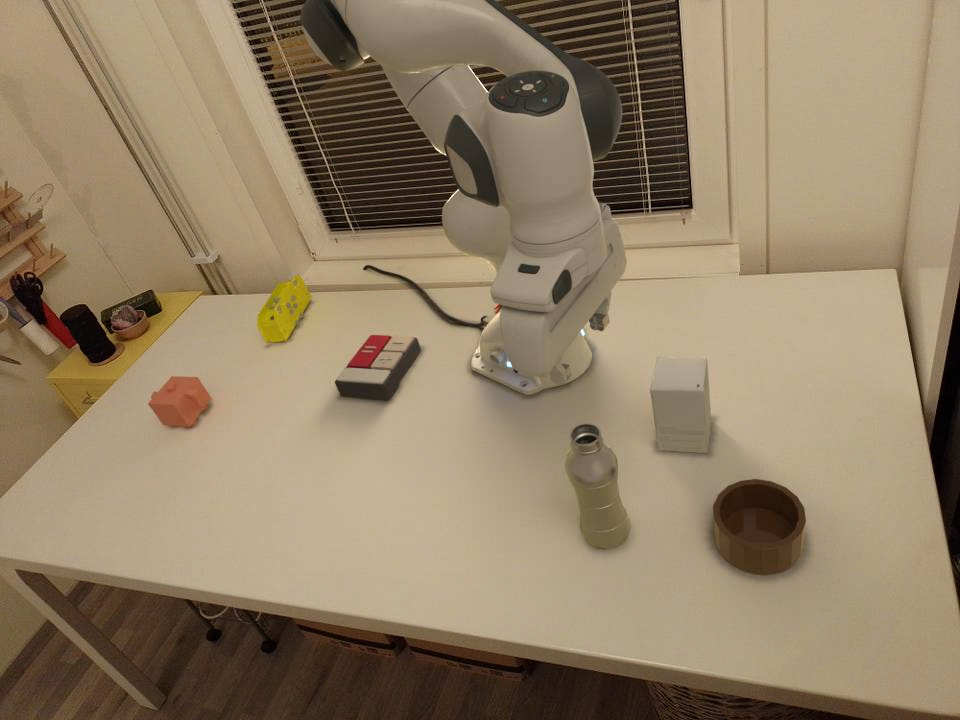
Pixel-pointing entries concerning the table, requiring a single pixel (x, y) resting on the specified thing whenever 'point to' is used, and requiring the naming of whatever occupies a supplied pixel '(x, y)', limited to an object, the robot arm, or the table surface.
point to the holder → (759, 526)
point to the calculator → (378, 367)
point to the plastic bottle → (596, 487)
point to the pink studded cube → (180, 401)
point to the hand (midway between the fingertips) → (581, 352)
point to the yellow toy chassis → (283, 310)
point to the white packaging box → (681, 404)
